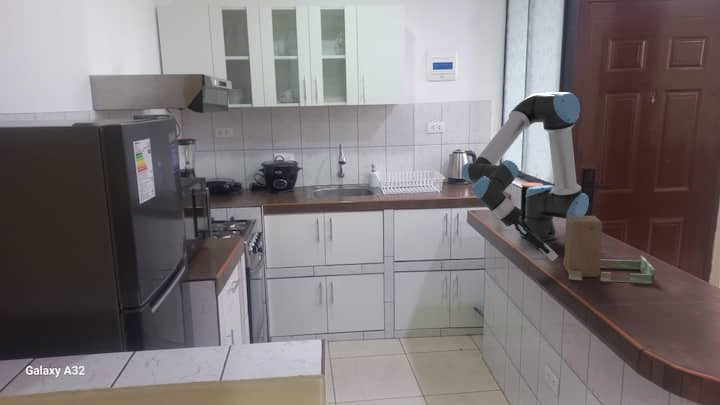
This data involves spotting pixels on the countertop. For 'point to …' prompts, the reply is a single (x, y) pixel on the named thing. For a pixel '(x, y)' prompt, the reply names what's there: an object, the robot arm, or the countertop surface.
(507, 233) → the countertop surface
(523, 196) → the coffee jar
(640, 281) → the trap lane
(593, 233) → the wooden block
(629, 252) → the countertop surface
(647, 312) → the countertop surface
